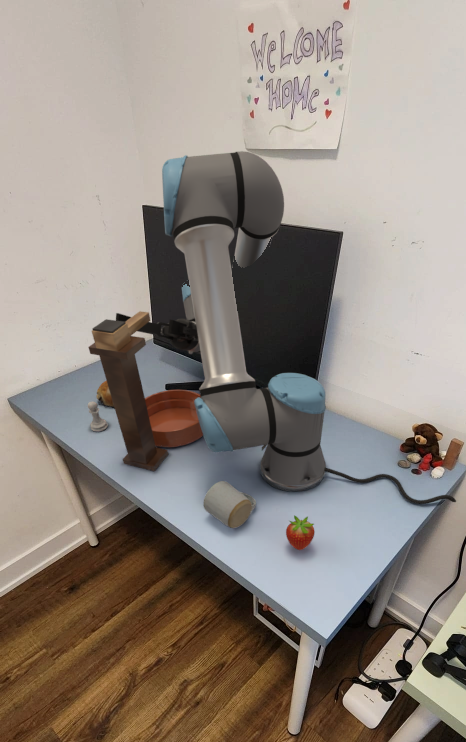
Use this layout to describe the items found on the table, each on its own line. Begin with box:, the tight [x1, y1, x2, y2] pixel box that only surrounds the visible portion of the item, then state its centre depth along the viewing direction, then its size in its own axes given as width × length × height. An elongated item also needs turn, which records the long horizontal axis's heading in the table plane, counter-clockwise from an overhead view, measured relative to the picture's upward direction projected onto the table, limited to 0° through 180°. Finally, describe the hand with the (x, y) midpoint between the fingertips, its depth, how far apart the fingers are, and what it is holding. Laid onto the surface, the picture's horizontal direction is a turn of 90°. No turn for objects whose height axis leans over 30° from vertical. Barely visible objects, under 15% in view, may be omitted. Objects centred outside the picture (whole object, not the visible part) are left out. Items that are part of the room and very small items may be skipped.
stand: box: [88, 335, 169, 472], centre depth 96 cm, size 9×7×30 cm
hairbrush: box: [91, 310, 151, 351], centre depth 87 cm, size 5×15×4 cm, turn 157°
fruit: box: [285, 515, 316, 551], centre depth 82 cm, size 5×5×8 cm
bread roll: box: [96, 379, 114, 408], centre depth 127 cm, size 10×10×8 cm
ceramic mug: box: [202, 480, 257, 529], centre depth 89 cm, size 11×8×8 cm
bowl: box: [145, 389, 204, 448], centre depth 115 cm, size 20×20×6 cm
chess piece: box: [87, 401, 109, 432], centre depth 115 cm, size 5×5×8 cm
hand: (143, 322), depth 92 cm, fingers open, 13 cm apart
